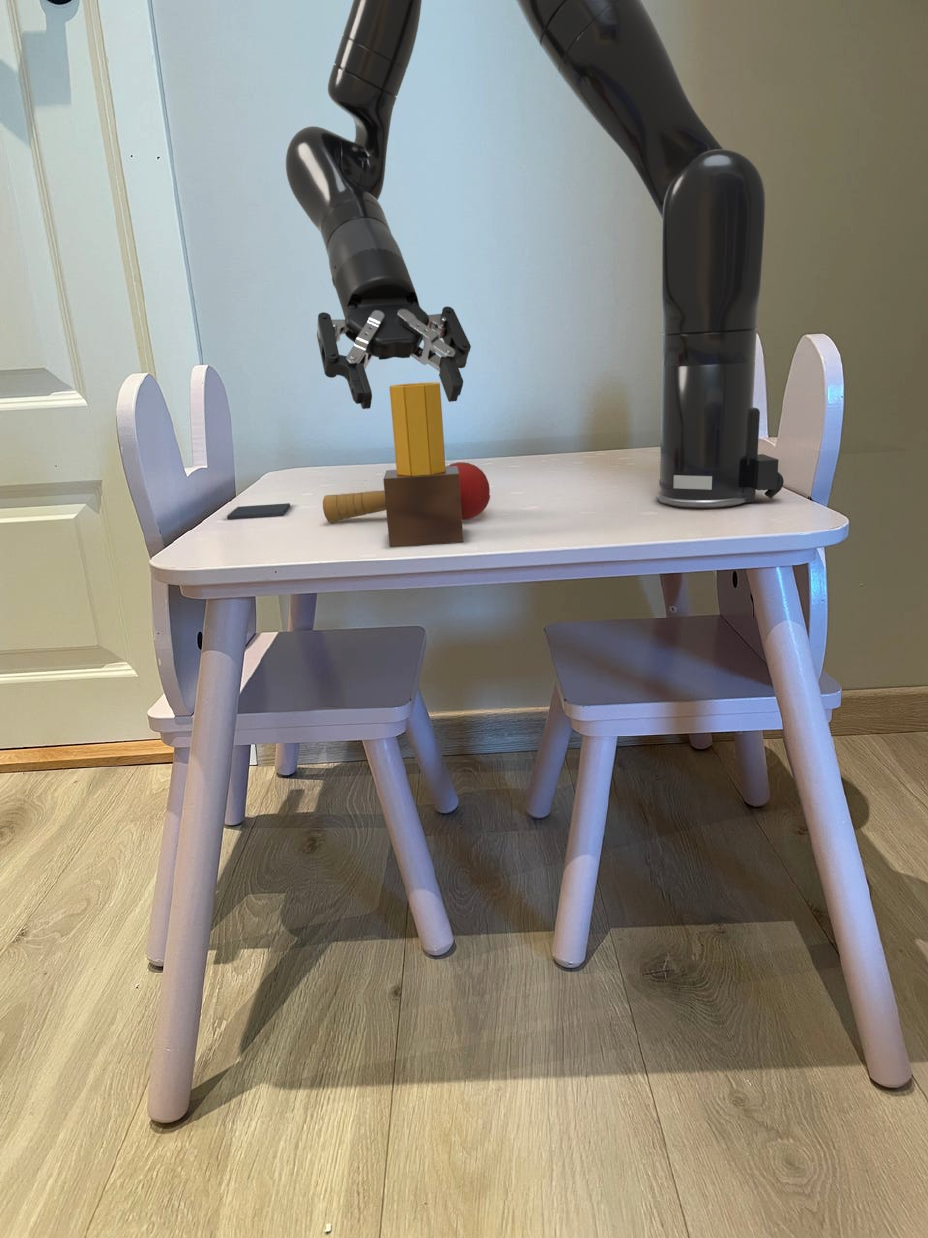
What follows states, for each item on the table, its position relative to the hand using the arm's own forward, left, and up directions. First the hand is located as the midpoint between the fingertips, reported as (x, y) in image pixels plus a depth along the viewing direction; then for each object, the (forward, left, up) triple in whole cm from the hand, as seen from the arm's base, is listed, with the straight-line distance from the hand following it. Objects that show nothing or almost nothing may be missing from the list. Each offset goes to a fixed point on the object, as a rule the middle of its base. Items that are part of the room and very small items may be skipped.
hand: (412, 399), depth 77 cm
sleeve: (0, +1, -7) cm, 7 cm away
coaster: (+20, -18, -13) cm, 30 cm away
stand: (0, +1, -13) cm, 13 cm away
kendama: (+2, -8, -13) cm, 16 cm away
